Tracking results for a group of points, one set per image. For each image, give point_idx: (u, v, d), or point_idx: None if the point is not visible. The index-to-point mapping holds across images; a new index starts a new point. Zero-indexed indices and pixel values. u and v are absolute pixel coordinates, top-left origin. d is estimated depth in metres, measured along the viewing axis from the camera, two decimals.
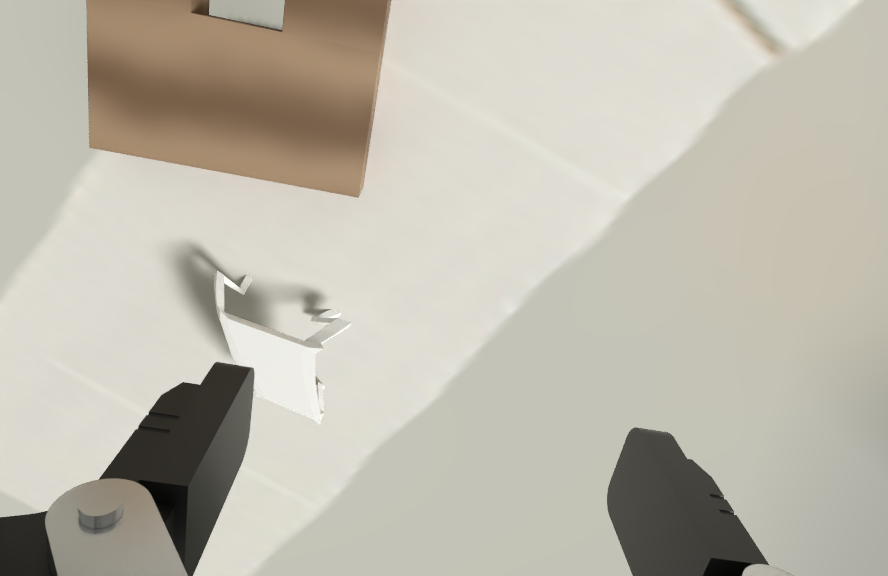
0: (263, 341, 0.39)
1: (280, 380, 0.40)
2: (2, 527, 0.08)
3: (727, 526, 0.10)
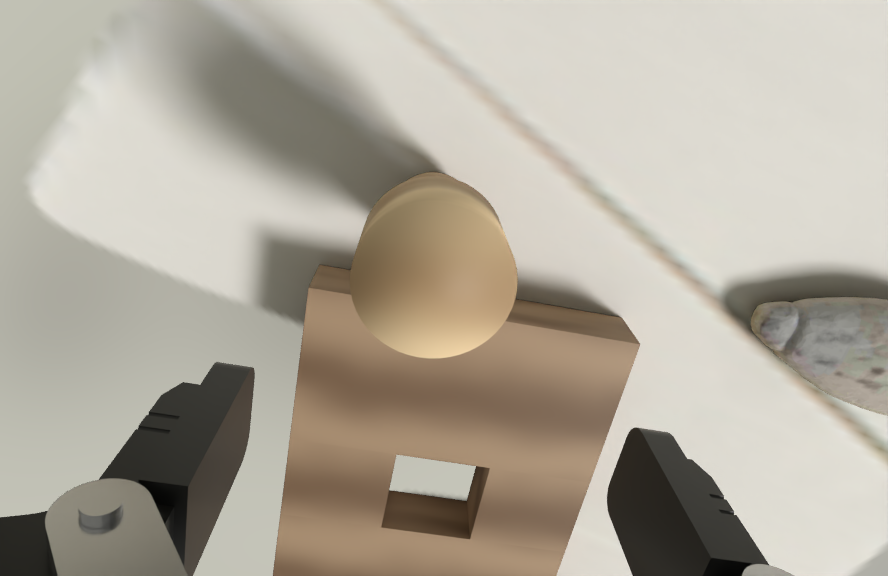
0: None
1: None
2: (2, 527, 0.08)
3: (727, 526, 0.10)
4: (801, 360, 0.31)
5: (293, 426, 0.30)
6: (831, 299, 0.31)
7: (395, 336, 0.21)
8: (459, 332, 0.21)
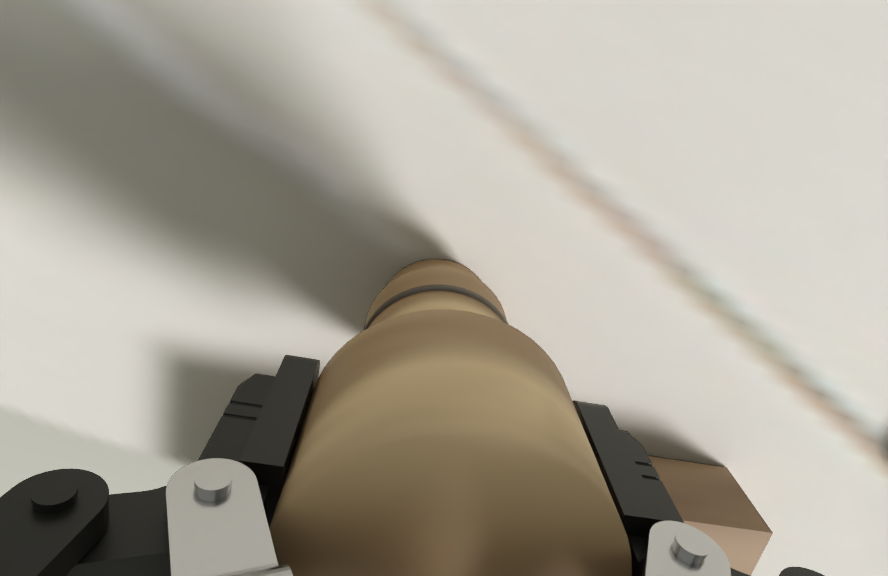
0: None
1: None
2: (121, 502, 0.09)
3: (646, 488, 0.11)
4: None
5: None
6: None
7: None
8: None
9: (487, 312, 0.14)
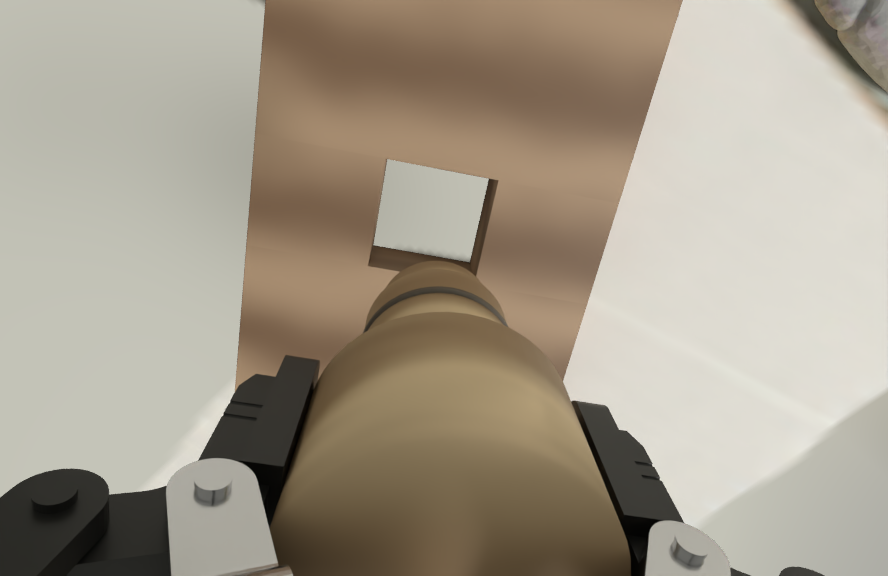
0: None
1: None
2: (121, 502, 0.09)
3: (645, 488, 0.11)
4: (877, 35, 0.25)
5: (259, 115, 0.25)
6: None
7: None
8: None
9: (487, 314, 0.14)
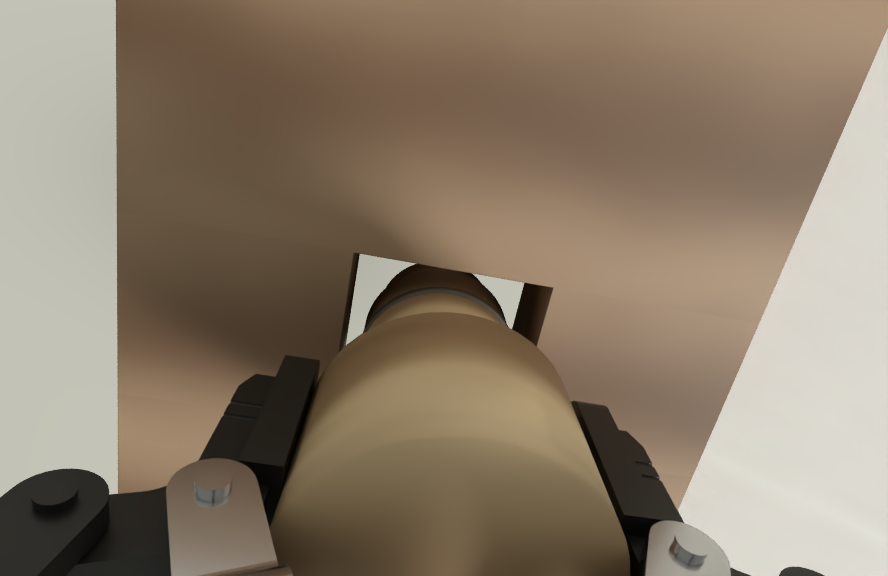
0: None
1: None
2: (121, 502, 0.09)
3: (645, 487, 0.11)
4: None
5: (121, 178, 0.14)
6: None
7: None
8: None
9: (487, 314, 0.15)
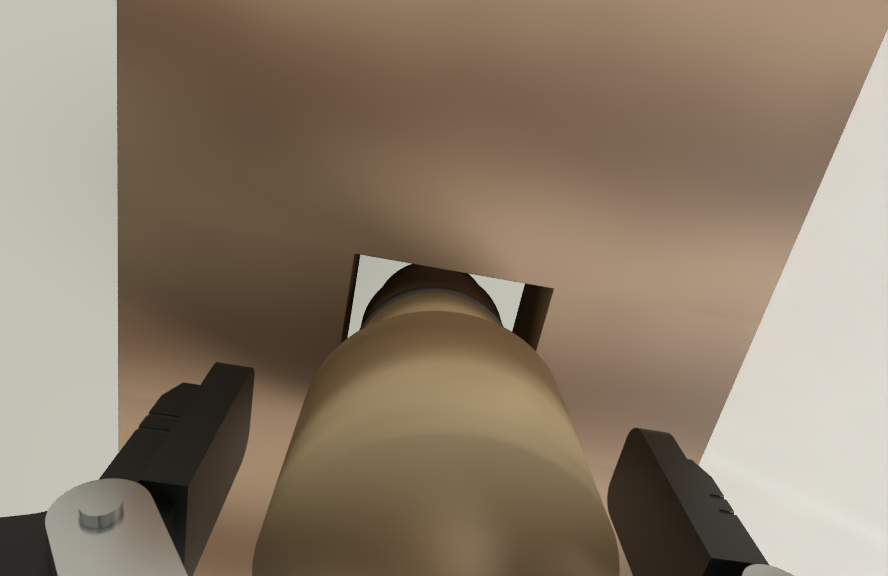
0: None
1: None
2: (2, 527, 0.08)
3: (727, 526, 0.10)
4: None
5: (122, 179, 0.14)
6: None
7: None
8: None
9: (481, 314, 0.15)
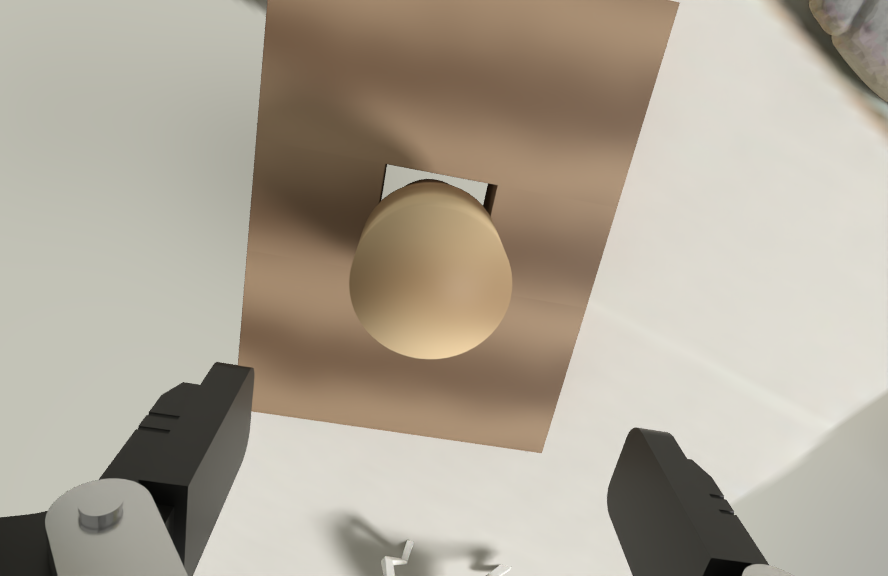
0: None
1: None
2: (2, 527, 0.08)
3: (727, 526, 0.10)
4: (870, 40, 0.26)
5: (260, 121, 0.25)
6: None
7: (393, 337, 0.21)
8: (456, 333, 0.21)
9: None
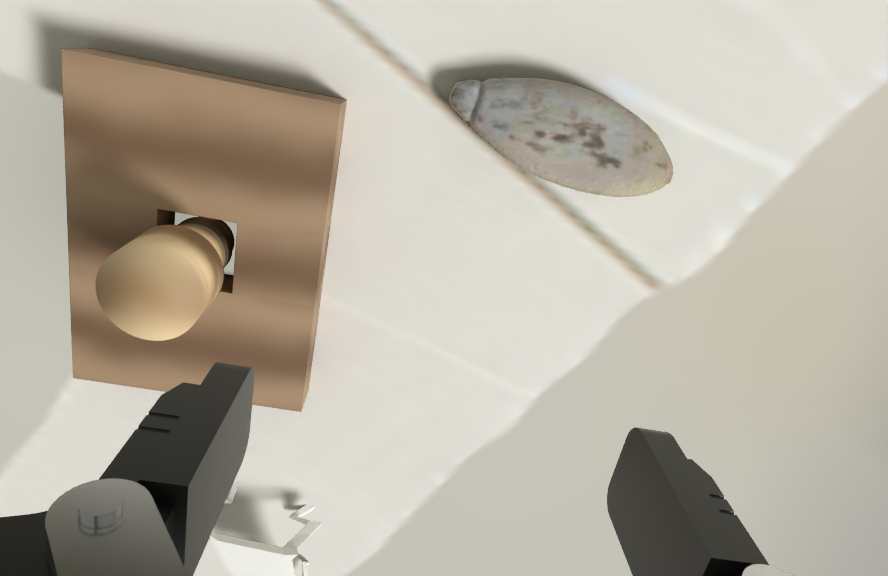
0: (248, 554, 0.47)
1: None
2: (2, 527, 0.08)
3: (727, 526, 0.10)
4: (483, 126, 0.38)
5: (67, 180, 0.37)
6: (510, 78, 0.38)
7: (130, 327, 0.34)
8: (170, 324, 0.34)
9: (206, 232, 0.38)
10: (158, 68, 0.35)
